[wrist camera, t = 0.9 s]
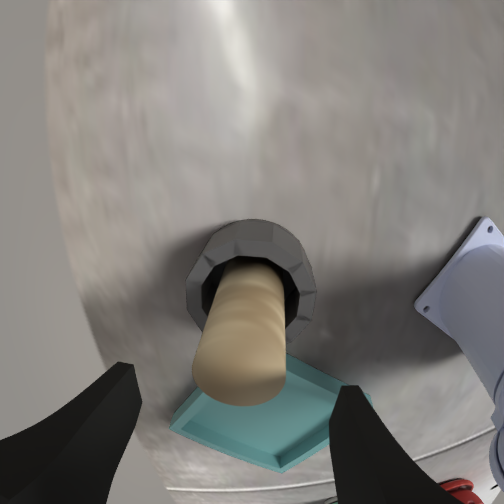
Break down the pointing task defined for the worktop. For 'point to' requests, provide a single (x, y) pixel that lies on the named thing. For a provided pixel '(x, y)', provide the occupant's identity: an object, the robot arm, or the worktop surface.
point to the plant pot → (462, 491)
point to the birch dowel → (244, 335)
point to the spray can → (332, 501)
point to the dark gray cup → (257, 245)
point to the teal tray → (266, 420)
